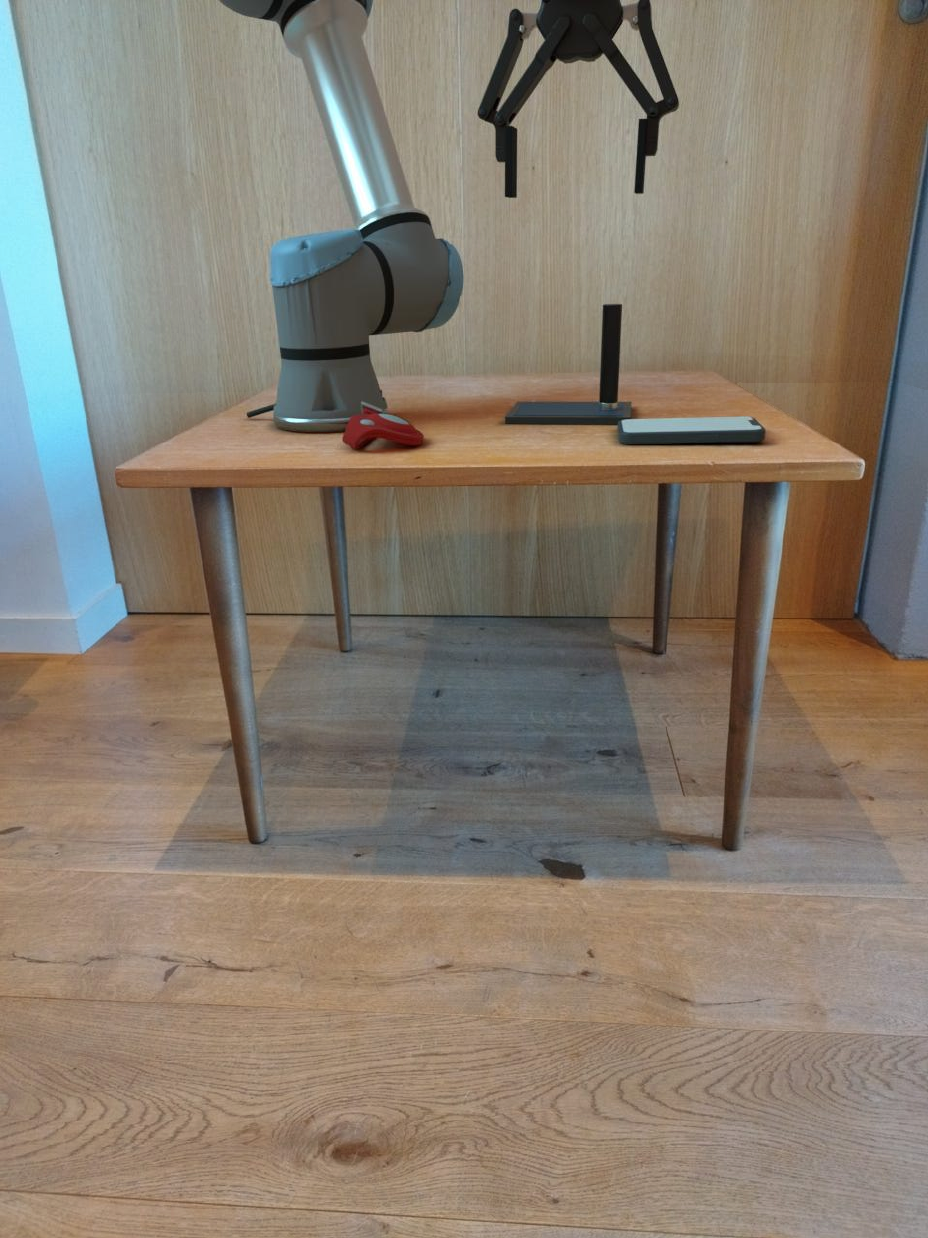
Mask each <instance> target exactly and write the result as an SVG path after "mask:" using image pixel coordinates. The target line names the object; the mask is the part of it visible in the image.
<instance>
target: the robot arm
mask: <svg viewBox="0 0 928 1238" xmlns="http://www.w3.org/2000/svg"><path fill="white" fill-rule="evenodd" d="M218 1H219V2H220V3H221V4H222V5H224V6H225V7H226V8H228V9H229V10H231V11H232V12H235V13H236V14H239V15H241V16H244V17H248V18H253V19H258V20H263V21H269V22H275V23H277V25H278V27H279V30H280V33H281V35H282V38H283V42H284V45H285V47H286V49H287V50H288V52H289V53H290V54H291V55H293V56H294V57H296V58H298V59H300V60H301V61H302V65H303V69H304V71H305V75H306V77H307V81H308V83H309V87H310V90H311V94H312V97H313V99H314V103H315V107H316V109H317V113H318V115H319V119H320V122H321V125H322V129H323V131H324V134H325V139H326V140H327V141H326V142H327V144H328V147H329V150H330V154H331V156H332V161H333V163H334V166H335V170H336V173H337V175H338V179H339V182H340V185H341V188H342V189H341V190H342V192H343V194H344V197H345V202H346V205H347V207H348V210H349V214H350V217H351V220H352V224H353V227H354V228H348V229H347V228H345V229H338V230H337V229H336V230H330V231H325V232H315V233H310V234H305V235H303V234H302V235H297V236H293V237H288V238H284V239H281V240H278V241H277V242H275V243H274V244H273V245H272V247H271V248H270V253H269V265H270V271H269V272H270V278H269V282H270V285H271V288H272V295H273V296H272V297H273V305H274V312H275V320H276V329H277V337H278V346H279V354H280V362H281V363H280V364H281V365H280V366H281V367H280V371H279V372H280V373H279V379H278V384H277V390H276V391H277V392H276V401H275V403H273V404H270V405H267V406H263V407H260V408H257V409H254V410H251V411H248V412H246V417H247V418H248V419H251V418H253V417H256V416H260V415H262V414H265V413H269V412H271V411H272V415H273V423H274V424H273V425H274V427H276V428H277V429H280V430H284V431H285V430H286V431H292V432H299V433H300V432H303V433H327V432H343V431H344V432H345V431H346V428H347V424H348V422H349V419H350V418H351V417H352V416H355V415H359V414H362V409H361V402H365V403H367V404H370V405H372V406H375V407H377V408H380V409H382V410H383V413H385V414H389V408H388V403H387V401H386V398H385V397H384V396H383V389H381V387H380V385H379V381H378V379H377V375H376V372H375V370H374V367H373V364H372V358H371V348H370V336H380V335H381V336H382V335H391V334H401V333H423V332H424V331H426V330H431V329H438V328H439V327H440V328H441V327H442V326H444V325H445V324H447V323H448V322H449V321H450V320H451V319H452V317H453V316H454V315H455V313H456V311H457V309H458V307H459V305H460V300H461V296H462V295H463V290H464V267H463V261H462V259H461V256H460V254H459V251H458V249H457V248H456V246H455V245H454V244H452V243H450V242H449V241H448V240H446V239H445V238H443V237H442V238H437V237H436V235H435V232H434V228H433V226H432V225H433V224H432V223H431V219H430V217H429V215H428V214H427V213H426V212H425V211H423V210H421V209H419V208H418V207H417V208H416V207H415V205H414V202H413V199H412V196H411V193H410V189H409V186H408V182H407V179H406V175H405V173H404V170H403V166H402V163H401V159H400V156H399V153H398V150H397V147H396V144H395V140H394V137H393V133H392V131H391V127H390V125H389V121H388V118H387V115H386V111H385V108H384V105H383V102H382V99H381V95H380V92H379V89H378V85H377V82H376V79H375V76H374V73H373V69H372V65H371V63H370V60H369V57H368V54H367V49H366V47H365V43H364V40H363V36H364V35H365V33H366V30H367V28H368V22H369V21H368V20H369V18H370V15H371V11H372V8H373V4H374V0H218ZM624 21H627V22H629V25H630V28H631V29H632V30H633V31H635V32H637V31H638V32H639V35H640V39H641V41H642V45H643V47H644V50H645V52H646V55H647V58H648V60H649V63H650V67H651V69H652V72H653V74H654V77H655V80H656V82H657V85H658V87H659V88H658V89H659V91H660V92H661V93H660V94H661V95H662V99H661V100H659V101H656V100H655V99H654V97H652V95H651V94H650V91H649V90H648V89H647V87H646V86H645V85H644V83H643V82H642V81H641V79H640V78H639V76H638V75H637V73H636V72H635V70H634V69H633V68H632V66H631V65H630V63H629V62H628V61H627V59H626V57H624V55H623V54H622V52H621V51H620V49H619V47H618V46H617V44H616V43H615V42H614V40H613V39H614V37H615V36H616V34H617V33H618V31H619V29H620V28H621V27H622V25H623V22H624ZM534 29H537V30H538V31H539V32H540V34H541V37H542V38H543V42H542V44H541V45H540V46H539V48H538V50H537V51H536V53H535V54H534V57H533V59H532V61H531V62H530V64H529V65H528V67H527V68H526V70H525V71H524V72H523V74H522V76H520V79H519V80H518V82H517V83H516V85H514V87H513V89H512V90H511V91H510V93H509V94H508V96H507V98H506V99H505V100H504V102H503V103H502V105H501V106H500V108H499V105H500V103H501V101H502V99H503V96H504V93H505V91H506V88H507V86H508V84H509V81H510V79H511V76H512V73H513V71H514V69H515V66H516V64H517V62H518V59H519V56H520V54H521V52H522V48H523V45H524V42H525V40H527V39H529V38H530V37H531V34H532V31H533V30H534ZM654 31H655V30H654V29H653V8H652V3H651V1H650V0H638V2H634V3H630V4H625V5H622V3H621V0H541V2H540V6H539V10H538V12H522V11H521V10H520V9H519V8H513V9H511V11H510V12H509V15H508V24H507V35H506V38H505V41H504V43H503V46H502V48H501V51H500V53H499V56H498V58H497V60H496V64H495V65H494V69H493V71H492V74H491V76H490V79H489V81H488V84H487V86H486V89H485V91H484V93H483V96H482V99H481V101H480V104H479V106H478V108H477V116H478V118H479V119H480V120H482V121H484V122H486V123H489V124H491V125H493V127H494V130H495V133H494V134H495V135H494V136H495V137H494V138H495V139H494V140H495V143H494V144H495V145H494V146H495V147H494V148H495V151H494V152H495V153H494V154H495V160H496V162H497V163H503V164H504V197H505V198H508V199H517V198H518V128H517V127H515V126H513V125H511V124H512V123H513V122H514V120H515V118H516V117H517V115H518V114H519V113H520V111H521V110H522V108H523V107H524V106H525V104H526V102H527V101H528V99H530V97H531V95H532V94H533V93H534V90H536V88H537V87H538V85H539V84H540V82H541V81H542V80H543V78H544V76H545V75H546V74H547V73H548V71H549V70H550V69H552V67H553V66H554V64H555V63H556V61H557V60H558V61H559V62H561V63H563V64H564V65H565V64H573V63H576V62H578V61H582V62H586V63H594V62H596V60H598V59H600V58H601V57H602V56H603V55H604V56H605V58H606V59H607V61H608V62H609V63H610V65H611V66H612V67H613V69H614V71H615V72H616V73H617V75H618V77H619V78H620V79H621V80H622V82H623V83H624V84H625V86H626V88H627V89H628V90H629V92H630V93H631V94H632V96H633V98H634V99H635V100H636V101H637V104H638V105H639V106H640V107H641V109H642V110H643V112H644V113H645V114H646V118H638V128H637V142H636V143H637V145H636V157H635V158H636V159H635V172H634V173H635V174H634V176H635V177H634V191H633V193H634V194H635V195H642V194H644V191H645V178H646V177H645V176H646V163H647V162H646V160H647V157H655V156H656V155H657V152H658V150H659V149H658V147H659V134H660V122H661V120H662V118H664V117H665V116H667V115H668V114H671V113H674V112H677V110H678V109H679V107H680V100H679V97H678V94H677V92H676V91H677V90H676V88H675V85H674V84H673V80H672V78H671V75H670V72H669V69H668V67H667V64H666V62H665V58H664V56H663V54H662V51H661V48H660V46H659V42H658V40H657V37H656V34H655V32H654ZM498 108H499V109H498Z"/></svg>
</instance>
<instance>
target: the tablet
mask: <svg viewBox="0 0 928 1238" xmlns="http://www.w3.org/2000/svg"><path fill="white" fill-rule="evenodd" d="M627 419H632V401H618V405H617V410H615V411H601V410H599V401H544V400H543V401H541V400H540V401H538V400H537V401H536V400H535V401H528V400H527V401H525V400H524V401H520V400H519V401H518V400H517V401H516V402H515V403H514V405H513V406H512V408H511V409H510V410H509V411H508V412H507V414H506V415H505V417H504V424H506V425H615V426H618V422H619V421H620V420H627Z"/></svg>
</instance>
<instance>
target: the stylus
mask: <svg viewBox="0 0 928 1238" xmlns="http://www.w3.org/2000/svg"><path fill="white" fill-rule="evenodd" d="M622 317H623V304H622V303H604V304H602V318H601V341H600V342H601V344H600V369H599V370H600V371H599V394H598V395H599V398H598V402H599V410H601V411H615V410H617V405H618V402H619V385H620V384H619V381H620V361H621V340H622V339H621V337H622V321H623V320H622V319H623V318H622Z"/></svg>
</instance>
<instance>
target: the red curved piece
mask: <svg viewBox="0 0 928 1238" xmlns="http://www.w3.org/2000/svg"><path fill="white" fill-rule="evenodd" d="M361 409H362V414H359V415H355V416H352V417H351V418H350V419H349V422H348V424H347V428H346V430H344V433H343V435H342V439H341V441H342V443H344V444H345V445H347V446H349V447H350V448H352V449H354V450H359V449H360V448H362V447H363V446H364V445H365V444H366V443H368V442H369V441H370V440H372V439H373V438H379V439H383V440H386V441H390V442H395V443H398V444H399V443H400V444H404V445H409V446H420V445H422V444H423V442H424V437H425V435H424V433H423V432H422V431H420V430H418V429H417V428H416V427H415V426H414V425H413V423H411V422H409V421H408V420H406V419H404V418H402V417H400V416H396V415H393V414H389V413H388V414H385V413H383V410H382V409H380V408H377V407H375V406H372V405H370V404H367V403H365V402H361Z"/></svg>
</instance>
